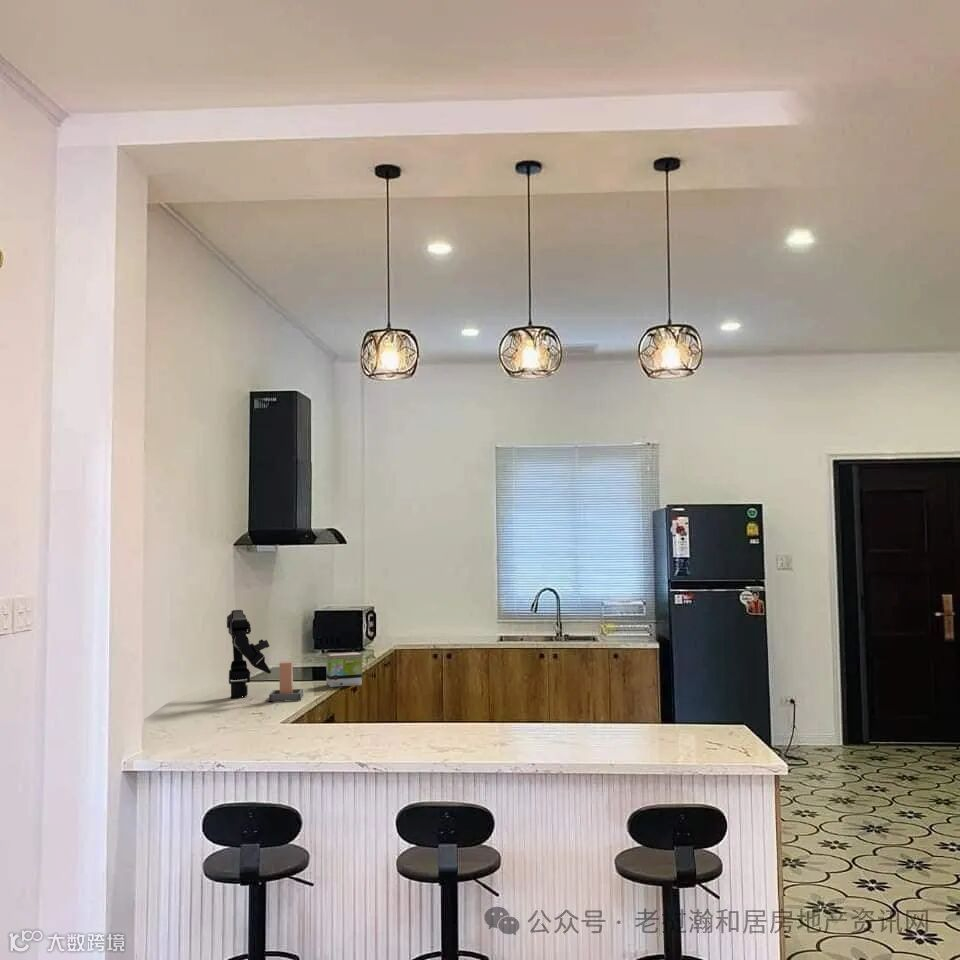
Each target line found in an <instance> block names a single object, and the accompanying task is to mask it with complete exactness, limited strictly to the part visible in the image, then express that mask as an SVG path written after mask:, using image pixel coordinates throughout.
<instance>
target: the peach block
mask: <svg viewBox="0 0 960 960" xmlns="http://www.w3.org/2000/svg"><path fill="white" fill-rule="evenodd" d="M293 663H294V662H293V661H292V660H291V661H290V660H289V661H288V660H287V661H280V662H279V690H280V694H293V689H294V677H293V675H294V672H293V671H294V670H293V669H294V668H293V667H294V666H293Z"/></svg>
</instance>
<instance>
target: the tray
mask: <svg viewBox="0 0 960 960" xmlns="http://www.w3.org/2000/svg"><path fill="white" fill-rule="evenodd" d="M268 696H269V697H268V702H269V701H283V702H286V701H285V700H300V701H302V699H303V697H304V688H293V694H280V689H273V690H272V691H271V692H270V693H269V694H268ZM302 696H303V697H302ZM301 698H302V699H301Z"/></svg>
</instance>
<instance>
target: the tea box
mask: <svg viewBox="0 0 960 960" xmlns="http://www.w3.org/2000/svg"><path fill="white" fill-rule="evenodd" d="M362 655H363V654H361V653H360V652H357V651H356V652H355V651H354V652H353V651H352V652H337V653H336V652H335V653H326V667H325V669H326V675H325V676H326V677H325V678H326V680H325V681H326V685H327V684H328V685H329V686H330V687H329V686H328V685H327V686H328V687H329V688H336V687H350V686H362V684H363V683H362V681H363V670H362V669H363V657H362Z"/></svg>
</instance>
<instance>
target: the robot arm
mask: <svg viewBox="0 0 960 960" xmlns="http://www.w3.org/2000/svg"><path fill="white" fill-rule="evenodd" d="M251 627H252V626H251V623H250V621H248V619H247V615H246V614H244V610H242V609H233V610H231V613H230V614H228V615H227V617H226V629H228V633H229V635H230V636H231V639H232V640H231V643H232V656H233V657H232V658H233V659H232V661H231V663H230V669H229V670H228V684H229V685H230V697H242V696H243V697H244V698H246V697H247V696H248V695H249V689H248V688H249V686H248V683H251V671H250V670H249V669H250V668H248V663H247V661H246V660H248V662H249V664H250V665H252V667H254V668H256V669H257V670H260V671H263V672H264V673H267V674H268V675H269V674H271V673H272V671H271V669H270V668H269V666H268V664H267V662H266V661H265V659H266V656H265V655H264V654H263V653H262V652H261V651H262V650H264V649H267V648H270V643H269V641H268V640H267V639H265V640H264V639H260V640H258V643H255V644H254V643H252V642H250V640H249V637H248V636H247V635H250V633H252V628H251ZM244 657H245V658H246V660H245V659H244ZM245 696H246V697H245Z"/></svg>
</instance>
